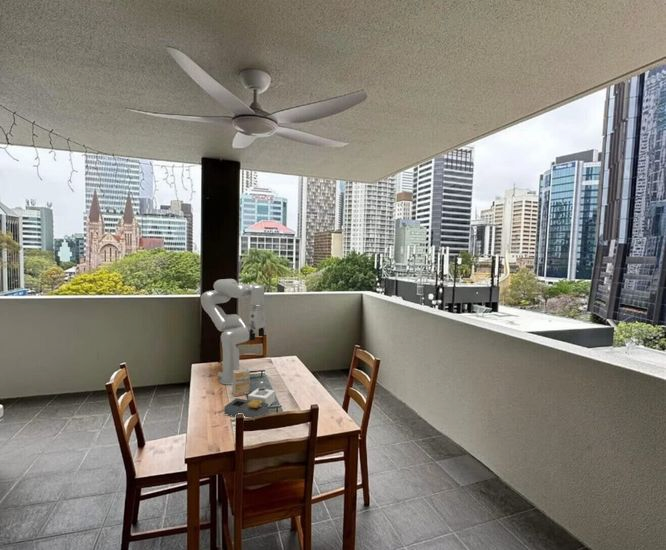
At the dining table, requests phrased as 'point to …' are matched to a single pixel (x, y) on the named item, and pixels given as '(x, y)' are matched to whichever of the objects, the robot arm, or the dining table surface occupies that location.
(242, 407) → the socket block
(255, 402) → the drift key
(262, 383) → the drill bit
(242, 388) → the supplement box
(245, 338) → the robot arm
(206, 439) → the dining table surface
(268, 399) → the white square bin
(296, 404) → the dining table surface
